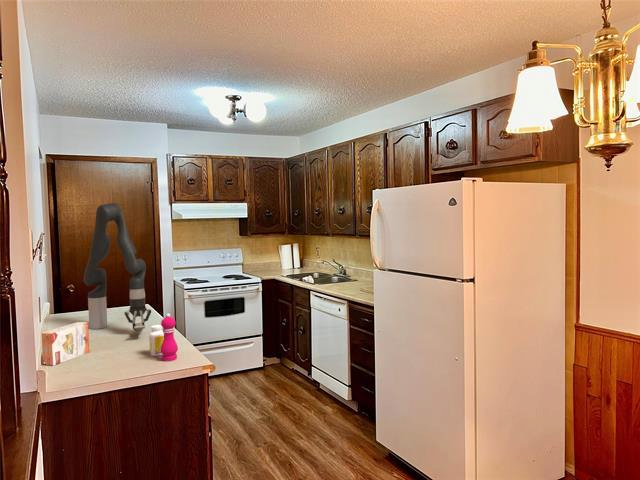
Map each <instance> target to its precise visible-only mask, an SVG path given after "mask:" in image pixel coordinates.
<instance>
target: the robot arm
mask: <svg viewBox="0 0 640 480" xmlns="http://www.w3.org/2000/svg"><path fill="white" fill-rule="evenodd" d="M94 221H95V222H94V231H93V236H92V241H91V245H90V250H89V251H90V252H89V257H88V261H87V263H86V266H85V269H84V273H83V274H84V275H83V283H84V284H85V285H86V286H89V287H90V286H96V288H94V289H93V290H91V291H89V292H88V293H87V302H88V303H87V306H88V329H90V330H99V329H105V328H107V327H108V309H107V307H108V306H107V305H108V304H107V271H106V269H105V268H103V267H99V268H97V267H98V266H99V264H100V263H101V262H102V261H103V260H105V258H106V257H107V256H108V254H109V252H110V248H111V244H112V242H111V238H110V236H109V234H108V233H107V227H108V223H109V222H114V223H115V224H116V227H117V236H116V237H117V238H116V242H117V245H118V248H119V250H120V252H121V254H122V256H123V262H124V266H125V268H126V269H125V270H127V271H128V273H130V274H132V277H131V278H130V279H129V309H128V310H127V311H124V315H125V316H124V317H126V320H127V321H128V323H130V324H132V329H133V331H135V332H136V329H134V326H136V318H137V317H140V320H141V322H140V323H142V325H145V323H146V322H148V321H149V318H150V317H151V314H152V309H148V308H147V307H146V292H145V277H146V271H147V266H146V265H147V264H146V262H145V261H144V259H142V258H136V256H135V255H136V254H137V248H136V247H135V244H134V243H133V241H132V239H131V236H130V234H129V230H128V227H127V223H126V221H125V217H124V214H123V210H122V208H121V207H120V205H119V204H118V203H116V202H111V203H110V202H109V203H103V204H100V205H99V206H98V207H97V209H96V212H95V220H94ZM145 313H146V316H145V318H144V315H145ZM130 314H131V315H132V319H131V317H130ZM143 330H144V329H142V331H143Z"/></svg>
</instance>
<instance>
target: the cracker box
mask: <svg viewBox="0 0 640 480" xmlns="http://www.w3.org/2000/svg"><path fill="white" fill-rule="evenodd" d="M89 333H90V331H89V322H85V321H76V322H73V323H70V324H66V325H63V326H59V327H56V328H53V329H50V330H46V331H43V332H41V349H42V361H43V360H44V362H45V364H46V365H45V366H51V365H52V366H53V367H54V366H57V365H59V364H61V363H64V362H67V361H69V360H72V359H74V358H77V357H80V356H82V355H85V354H87V353H89V352H90V334H89Z"/></svg>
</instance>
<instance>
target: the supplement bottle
mask: <svg viewBox="0 0 640 480" xmlns="http://www.w3.org/2000/svg"><path fill="white" fill-rule="evenodd" d="M150 329H151V331H150V332H149V336H148V337H149V355H150V356H152V357H159V356H162V355H163V354H162V353H161V351H160V350H161V345H162V343H163V340H164V333H163V332H162V331H163V330H162V329H163V327H162V326H161V324H156V325H151V328H150Z"/></svg>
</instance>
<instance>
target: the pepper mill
mask: <svg viewBox="0 0 640 480" xmlns="http://www.w3.org/2000/svg"><path fill="white" fill-rule="evenodd" d="M160 325H161V326H162V332H163V333H164V340H163V343H162V345H161V350H160V351H161V353H162V354H163V355H161V360H162V361H163V362H172V361H176V360H177V359H178V354H177V352H178V351H179V348H178V347H179V346H178V343H177V342H176V340H175V336H174V333H175V326H176V320H175V318H174V317H172V316H171V314H170V313H166V314H165V317H164V318H162V320H161V321H160Z"/></svg>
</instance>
